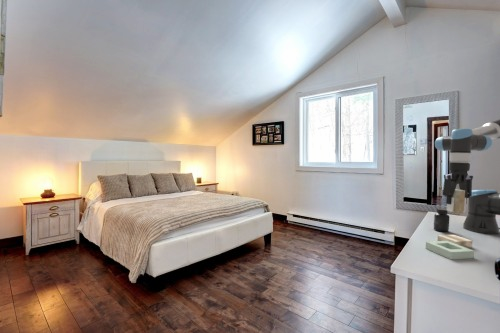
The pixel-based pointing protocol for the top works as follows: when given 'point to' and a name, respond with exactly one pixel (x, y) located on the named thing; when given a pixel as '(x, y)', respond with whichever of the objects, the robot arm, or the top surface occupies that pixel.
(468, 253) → the socket
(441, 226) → the supplement bottle
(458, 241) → the stand
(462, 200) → the box
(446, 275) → the top surface
